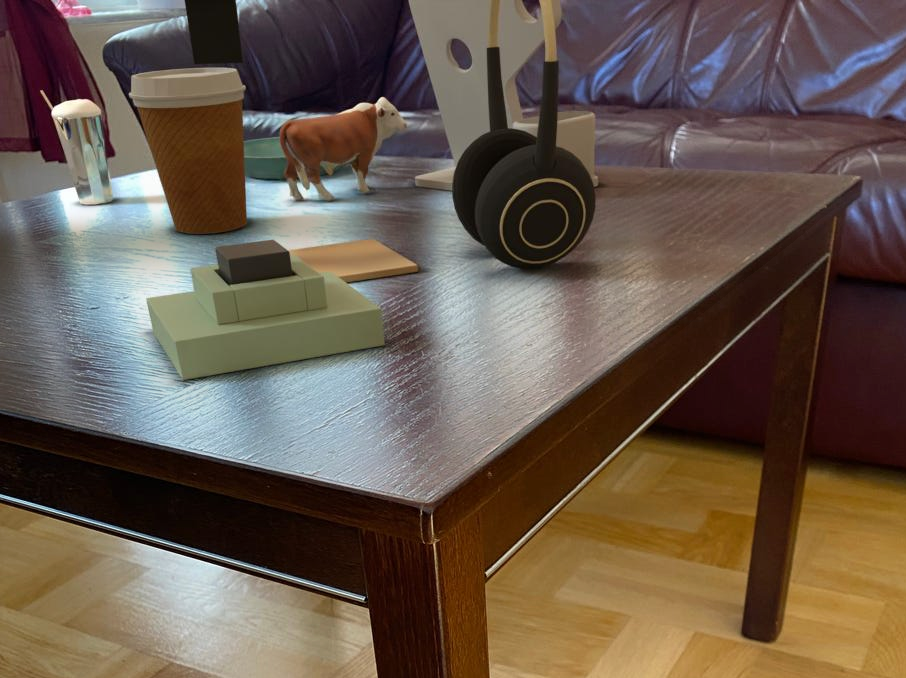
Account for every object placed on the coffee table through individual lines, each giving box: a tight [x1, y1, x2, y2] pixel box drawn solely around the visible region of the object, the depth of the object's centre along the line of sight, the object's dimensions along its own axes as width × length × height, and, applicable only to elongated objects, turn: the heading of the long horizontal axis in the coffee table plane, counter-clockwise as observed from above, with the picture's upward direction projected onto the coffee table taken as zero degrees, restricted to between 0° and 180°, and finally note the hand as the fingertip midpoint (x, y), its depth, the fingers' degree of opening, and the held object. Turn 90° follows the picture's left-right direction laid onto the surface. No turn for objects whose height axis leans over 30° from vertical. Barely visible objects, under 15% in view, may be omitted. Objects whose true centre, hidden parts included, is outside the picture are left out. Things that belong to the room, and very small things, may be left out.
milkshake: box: [39, 89, 114, 206], centre depth 100 cm, size 5×5×10 cm
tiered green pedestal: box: [145, 254, 386, 381], centre depth 61 cm, size 10×12×4 cm
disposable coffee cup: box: [128, 67, 248, 235], centre depth 87 cm, size 10×10×12 cm
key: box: [214, 239, 293, 286], centre depth 60 cm, size 4×4×2 cm
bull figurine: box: [278, 96, 408, 202], centre depth 99 cm, size 4×13×8 cm, turn 124°
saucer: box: [244, 136, 344, 180], centre depth 113 cm, size 15×15×3 cm
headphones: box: [451, 0, 597, 270], centre depth 71 cm, size 9×15×20 cm, turn 14°
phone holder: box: [408, 0, 599, 192], centre depth 97 cm, size 17×10×18 cm, turn 49°
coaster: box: [287, 238, 419, 283], centre depth 77 cm, size 10×10×1 cm
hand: (218, 60), depth 58 cm, fingers closed
